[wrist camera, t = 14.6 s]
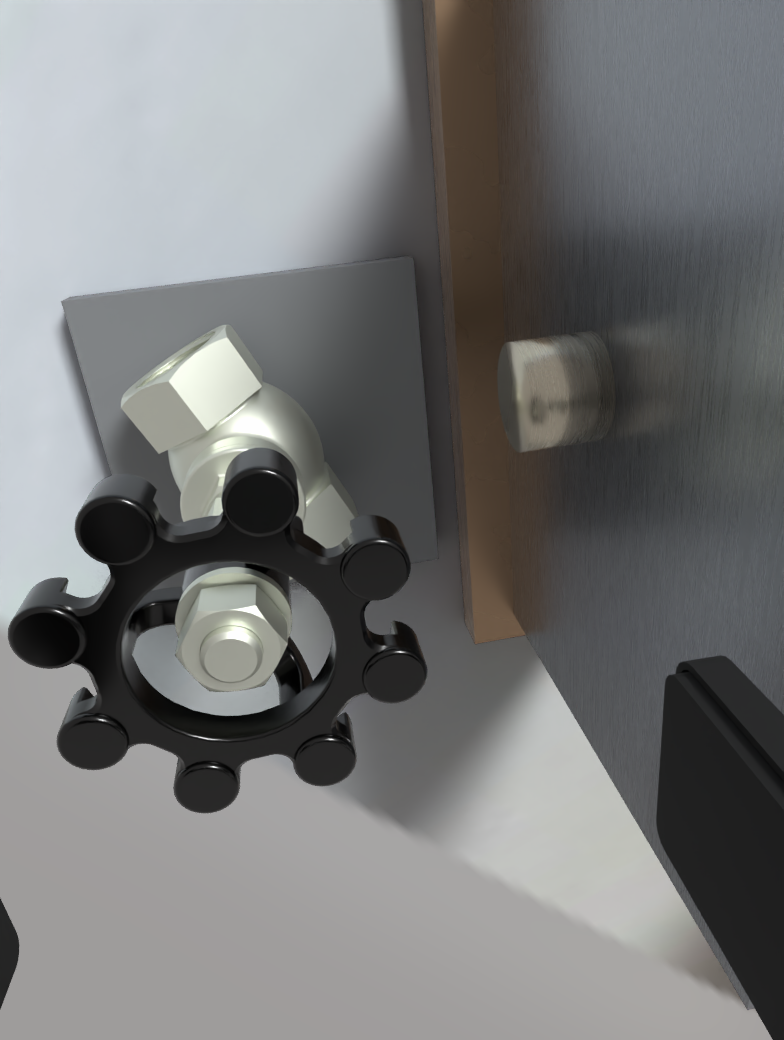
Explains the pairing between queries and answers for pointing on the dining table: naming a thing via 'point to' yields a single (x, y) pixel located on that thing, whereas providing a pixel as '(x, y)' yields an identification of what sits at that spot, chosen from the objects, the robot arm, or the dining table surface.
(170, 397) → the valve
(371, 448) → the parts mat
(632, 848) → the dining table surface
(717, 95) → the box
